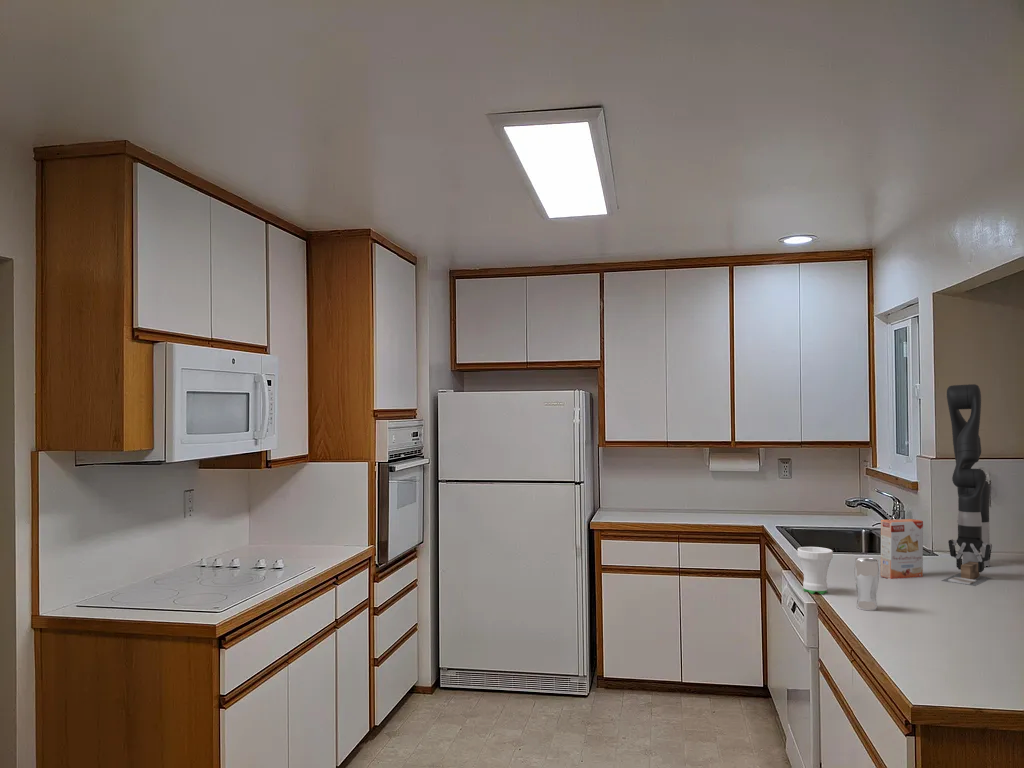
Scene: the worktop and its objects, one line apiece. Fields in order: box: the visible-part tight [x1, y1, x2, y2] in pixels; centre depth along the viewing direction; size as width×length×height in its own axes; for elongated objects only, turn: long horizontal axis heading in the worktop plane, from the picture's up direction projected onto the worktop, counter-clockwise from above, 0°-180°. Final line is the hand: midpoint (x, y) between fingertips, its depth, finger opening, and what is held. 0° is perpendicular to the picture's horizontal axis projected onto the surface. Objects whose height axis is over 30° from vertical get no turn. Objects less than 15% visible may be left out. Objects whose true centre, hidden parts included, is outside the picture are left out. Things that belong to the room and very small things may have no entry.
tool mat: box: [941, 572, 992, 587], centre depth 289 cm, size 19×11×1 cm, turn 134°
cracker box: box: [880, 518, 924, 580], centre depth 294 cm, size 14×6×21 cm, turn 105°
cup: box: [797, 546, 834, 595], centre depth 271 cm, size 11×11×14 cm
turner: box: [948, 561, 980, 585], centre depth 289 cm, size 17×7×5 cm, turn 134°
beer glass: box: [854, 557, 880, 612], centre depth 250 cm, size 7×7×15 cm
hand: (970, 570), depth 291 cm, fingers open, 6 cm apart
